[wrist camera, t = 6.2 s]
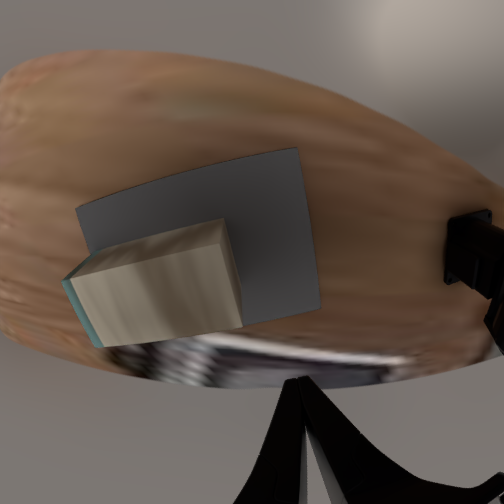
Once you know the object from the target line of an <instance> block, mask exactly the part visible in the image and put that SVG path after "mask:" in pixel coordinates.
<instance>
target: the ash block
mask: <svg viewBox="0 0 504 504" xmlns="http://www.w3.org/2000/svg"><path fill="white" fill-rule="evenodd" d="M61 282H62V285H63V287H64V289H65V291H66V293H67V295H68V298H69V300H70V302H71V304H72V306H73V308H74V310H75V312H76V314H77V316H78V318H79V319H80V321H81V323H82V325H83V327H84V329H85V331H86V332H87V334H88V336H89V338H90V339H91V341H92V343H93V344H94V346H95V348H98V347H109V346H119V345H129V344H138V343H146V342H154V341H161V340H169V339H176V338H182V337H189V336H195V335H201V334H207V333H213V332H219V331H225V330H230V329H235V328H241V327H243V319H242V295H241V283H240V279H239V275H238V272H237V268H236V264H235V260H234V256H233V252H232V248H231V244H230V240H229V237H228V233H227V229H226V225H225V221H224V218H221V219H217V220H213V221H208V222H204V223H200V224H196V225H192V226H188V227H184V228H180V229H176V230H172V231H168V232H164V233H160V234H156V235H152V236H148V237H145V238H141V239H137V240H133V241H130V242H126V243H122V244H119V245H115V246H112V247H108V248H105V249H101V250H98V251H95V252H93V253H92V254H91V255H90V256H89V257H88V258H86V259H85V260H84V261H83V262H82V263H81V264H79V265H78V266H77V267H76V268H75V269H74V270H73V271H72V272H70V273H69V274H68V275H67V276H66V277H65V278H64V279H63V280H62V281H61Z"/></svg>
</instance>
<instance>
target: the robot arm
mask: <svg viewBox="0 0 504 504" xmlns="http://www.w3.org/2000/svg"><path fill="white" fill-rule="evenodd" d="M453 223H454V224H453ZM491 223H492V211H491V210H488V209H486V210H482V211H478V212H474V213H470V214H466V215H462V216H458V217H454V218H451V219H450V220H449V223H448V242H447V257H446V268H445V277H444V282H445V283H446V284H447V285H451V284H453V283H456V282H458V281H460V280H461V281H462V282H463V283H465V284H466V285H467V286H469V287H470V288H471V289H475V290H476V291H478V292H479V293H480V294H481V295H483V296H484V297H485V298H486V299H488V300H489V299H492V300H491V303H490V306H489V309H488V312H487V314H486V315H485V318H484V320H483V321H484V323H485V324H486V326H487V328H488V330H489V331H490V333H491V335H492V337H493V338H494V340H495V343H496V345H497V346H498V348H499V349H500V351H501V352H502V354H503V355H504V230H503V229H501V228H499V227H497V226H494V225H492V224H491ZM305 426H306V428H305ZM306 431H307V434H308V437H309V440H310V443H311V446H312V449H313V451H314V454H315V457H316V460H317V463H318V466H319V469H320V472H321V475H322V478H323V481H324V483H325V486H326V489H327V492H328V495H329V498H330V501H331V504H504V493H503V492H504V473H503V472H498V473H497V474H495V475H494V476H492V477H491V478H490V479H488V480H487V481H486V482H484V483H483V484H481V485H479V486H476V487H474V488H461V487H455V486H449V485H444V484H439V483H435V482H430V481H426V480H423V479H420V478H418V477H416V476H414V475H413V474H411V473H409V472H408V471H407V470H405V469H404V468H402V467H401V466H399V465H398V464H397V463H395V462H394V461H392V460H391V459H390V458H388V457H387V456H386V455H385V454H383V453H382V452H381V451H379V450H378V449H377V448H376V447H375V446H374V445H373V444H372V443H371V442H370V441H368V439H367V438H366V437H365V436H364V435H363V434H360V431H359V430H358V429H357V428H356V427H355V426H354V425H353V424H352V423H351V422H350V421H349V420H348V419H347V418H346V416H345V415H344V414H343V413H342V412H341V411H340V410H339V409H338V408H337V407H336V406H335V405H334V404H333V402H332V401H331V400H330V399H329V398H328V397H327V396H326V395H325V394H324V393H323V391H322V390H321V389H320V388H319V387H318V386H317V385H316V384H315V382H314V381H313V380H312V379H311V378H310V377H309V376H307V375H306V376H301V377H298V378H297V379H296V378H292V379H287V380H285V382H284V385H283V388H282V391H281V394H280V397H279V400H278V403H277V406H276V409H275V412H274V415H273V418H272V420H271V423H270V427H269V429H268V432H267V435H266V437H265V440H264V443H263V445H262V448H261V451H260V453H259V454H260V455H258V458H257V460H256V463H255V465H254V468H253V470H252V472H251V474H250V476H249V478H248V480H247V482H246V483H245V485H244V487H243V489H242V490H241V492H240V494H239V495H238V496H237V498H236V500H235V501H234V503H233V504H307V446H306V445H307V444H306ZM501 493H503V494H502V495H501V496H499V495H500V494H501Z"/></svg>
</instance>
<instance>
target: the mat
mask: <svg viewBox="0 0 504 504" xmlns="http://www.w3.org/2000/svg"><path fill="white" fill-rule="evenodd" d="M75 210H76V213H77V216H78V219H79V222H80V226H81V229H82V231H83V234H84V237H85V240H86V243H87V246H88V248H89V251H90V254H92V253H93V252H95V251H98V250H101V249H105V248H108V247H112V246H115V245H119V244H122V243H126V242H130V241H133V240H137V239H141V238H145V237H148V236H152V235H156V234H160V233H164V232H168V231H172V230H176V229H180V228H184V227H188V226H192V225H196V224H200V223H204V222H208V221H213V220H217V219H221V218H224V221H225V225H226V229H227V233H228V237H229V240H230V244H231V248H232V252H233V256H234V260H235V264H236V268H237V272H238V275H239V279H240V283H241V295H242V319H243V326H245V325H250V324H255V323H260V322H265V321H269V320H274V319H278V318H283V317H287V316H292V315H296V314H300V313H305V312H309V311H313V310H317V309H321V301H320V292H319V283H318V275H317V266H316V259H315V251H314V244H313V237H312V230H311V223H310V217H309V210H308V204H307V198H306V192H305V186H304V181H303V175H302V170H301V164H300V159H299V154H298V149H297V147H296V148H289V149H284V150H278V151H273V152H268V153H263V154H258V155H253V156H248V157H243V158H239V159H234V160H230V161H226V162H221V163H217V164H213V165H209V166H205V167H201V168H197V169H193V170H190V171H186V172H182V173H179V174H175V175H172V176H168V177H165V178H161V179H158V180H155V181H152V182H148V183H145V184H142V185H139V186H136V187H133V188H130V189H127V190H124V191H121V192H118V193H115V194H112V195H109V196H107V197H104V198H101V199H98V200H96V201H93V202H90V203H88V204H85V205H82V206H80V207H78V208H75Z"/></svg>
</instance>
